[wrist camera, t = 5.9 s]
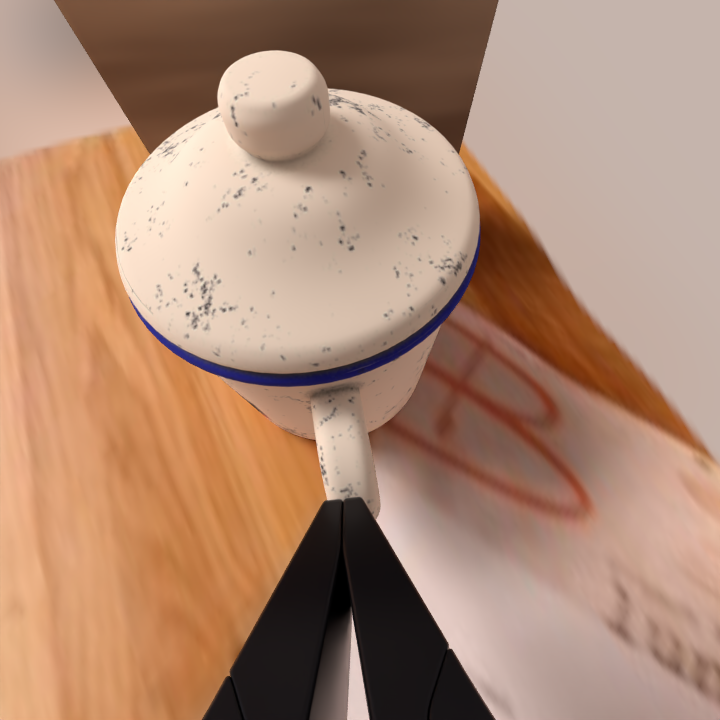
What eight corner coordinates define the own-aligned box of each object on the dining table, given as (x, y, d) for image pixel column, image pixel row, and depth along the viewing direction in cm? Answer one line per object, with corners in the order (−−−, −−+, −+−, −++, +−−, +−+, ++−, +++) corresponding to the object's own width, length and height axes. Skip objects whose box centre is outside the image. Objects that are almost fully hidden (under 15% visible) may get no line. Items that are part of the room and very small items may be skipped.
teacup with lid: (235, 292, 18) (41, -16, 7) (401, 263, 19) (446, -66, 8) (250, 542, 13) (-225, 696, 3) (471, 494, 14) (819, 462, 3)
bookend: (439, 230, 19) (516, -68, 9) (212, 253, 19) (36, -28, 9) (431, 199, 20) (492, -101, 10) (214, 221, 20) (58, -65, 10)
